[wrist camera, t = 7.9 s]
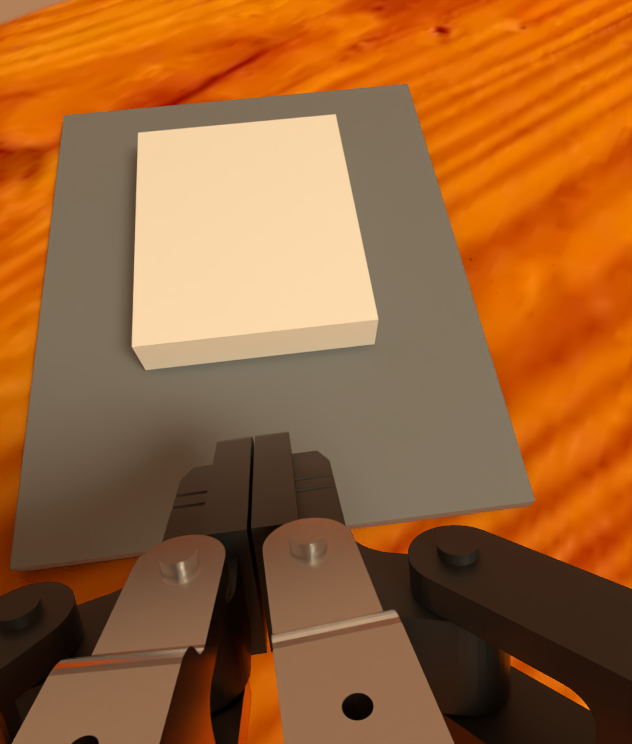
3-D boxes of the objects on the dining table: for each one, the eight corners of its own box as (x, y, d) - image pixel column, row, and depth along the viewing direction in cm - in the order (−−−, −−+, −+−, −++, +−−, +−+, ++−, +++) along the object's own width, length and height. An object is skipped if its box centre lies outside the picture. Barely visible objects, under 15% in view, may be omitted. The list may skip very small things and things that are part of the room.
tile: (131, 346, 18) (138, 132, 23) (147, 373, 20) (150, 168, 24) (378, 319, 19) (335, 114, 23) (373, 347, 20) (334, 150, 25)
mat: (528, 505, 18) (535, 501, 18) (19, 571, 17) (9, 568, 17) (405, 95, 27) (407, 84, 27) (68, 126, 27) (63, 115, 26)
